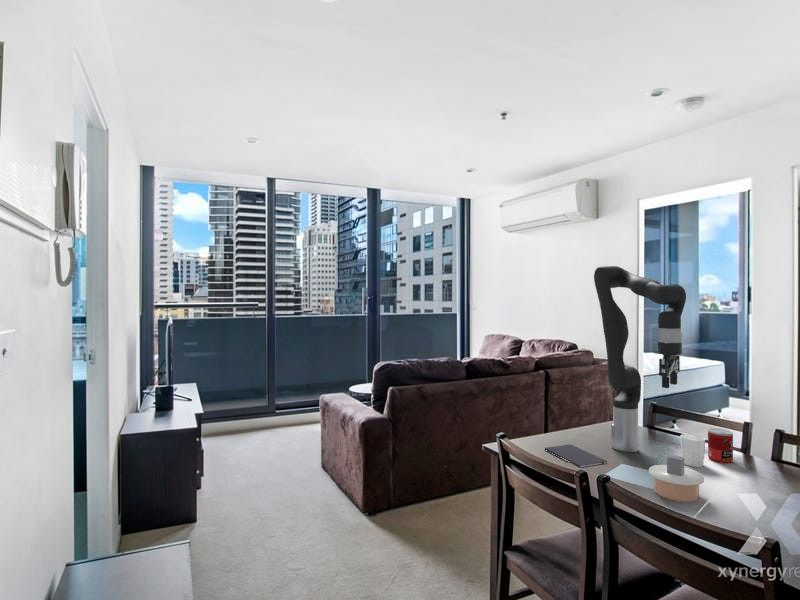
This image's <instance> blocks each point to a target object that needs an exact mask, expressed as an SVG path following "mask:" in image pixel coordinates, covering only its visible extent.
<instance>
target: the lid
mask: <svg viewBox="0 0 800 600" xmlns="http://www.w3.org/2000/svg"><path fill="white" fill-rule="evenodd" d="M648 470H649V474H650V475H651V476H653V477H654V478H656V479H658V480H661V481H664V482H668V483H672V484H678V485H699V486H700V485H702V484H703V483H704V482H705V477H704V475H703V474H702V473H701V472H699V471H696V470H694V469H691V468H690V467H689V468H688V467H685V464H684V458H683V457H682V456H677V455H674V454H669V455H668V456H667V457H666V464H654V465H652V466H650V467H649V468H648Z"/></svg>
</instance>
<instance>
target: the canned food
mask: <svg viewBox="0 0 800 600" xmlns="http://www.w3.org/2000/svg"><path fill="white" fill-rule="evenodd" d="M707 456H708V457H707V458H708V459H709V460H711V461H712V462H715V463H720V464H732V463H733V460H734V432H733V431H730V430H727V429H725V428H719V427H718V428H716V427H715V428H711V427H710V428H708V429H707Z"/></svg>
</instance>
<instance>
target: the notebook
mask: <svg viewBox="0 0 800 600" xmlns="http://www.w3.org/2000/svg"><path fill="white" fill-rule="evenodd" d="M545 450H547V451H549V452H551V453H553V454H555V455H557V456H559V457H562V458H564V459H566V460H568V461H570V462H572V463H573V464H572V463H571V464H572V465H574V464H575V465H574V466H576V467H578V468H583V467H584V468H585V467H592V466H598V465H605V464H607V463H608V461H607V460H606V459H604V458H602V457H599V456H597V455H595V454H593V453H590V452H589V451H586V450H584V449H582V448H579V447H578V446H575V445H573V444H563V445H557V446H548V447H544V451H545ZM547 451H546V452H547ZM549 452H548V453H549ZM551 453H550V454H551ZM553 454H552V455H553ZM555 455H554V456H555ZM557 456H556V457H557ZM559 457H558V458H559ZM570 462H569V463H570Z"/></svg>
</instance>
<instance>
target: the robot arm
mask: <svg viewBox="0 0 800 600" xmlns="http://www.w3.org/2000/svg"><path fill="white" fill-rule="evenodd" d="M593 280H594V281H593V282H594V287H595V290H596V294H597V299H598V302H599V307H600V308H599V309H600V313H601V321H602V329H603V335H604V339H605V340H604V341H605V346H606V347H605V351H606V356H607V377H608V381H609V385H610V387H611V388H612V389H613V390H615V391H618V392H619V394H618V395H617V396H615V397H614V398H613V399H612V424H611V425H610V445H611V447H610V448H611V449H614V450H616V451H620V452H624V453H636V452H638V451H639V403H640V401H641V393H642V392H641V391H642V390H641V389H642V378H641V374H640V372H639V370H638V369H637V368H635V367H634V366H625V362H624V353H625V349H626V345H627V343H628V339H629V334H630V333H629V326H628V321H627V317H626V315H625V313H624V312H623V310H622V309H621V308H620V307H619V305H618V304H617V303H616V301H615V300H614V297H613V293H612V289H615V288H625V289H629V290H630V291H631V292H633V294H635V295H637V296H640V297H642V298H643V297H644V298H646V299H648V300H650V301H652V302H653V303H655V304H659V305H667V307H666V310H664V311H660V312H659V313H658V317H657V318H658V323H657V324H658V325H657V326H658V329H657V353H658V354H659V355H663V356H662V358H659V359H658V361H659V362H658V375H659V376H660V377H661V387H662V389H669V388H670V385H678V374H679V372H680V371H681V364H680V363H681V361H680V357H681V356H680V355H682V353H683V351H682V350H683V342H682V341H683V337H682V336H683V335H682V334H683V333H682V315H683V311H684V307H685V305H686V301H687V294H686V293H687V292H686V290H685V288H684V287H683V286H681V285H679V284H662V283H660V282H659V281H657V280H654V279H650V278H648V277H643V276H639V275H637V274H634V273H632V272H630V271H628V270H626V269H624V268H622V267H620V266H616V265H607V266H604V265H603V266H598V267H596V269H595V270H594V274H593Z"/></svg>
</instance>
